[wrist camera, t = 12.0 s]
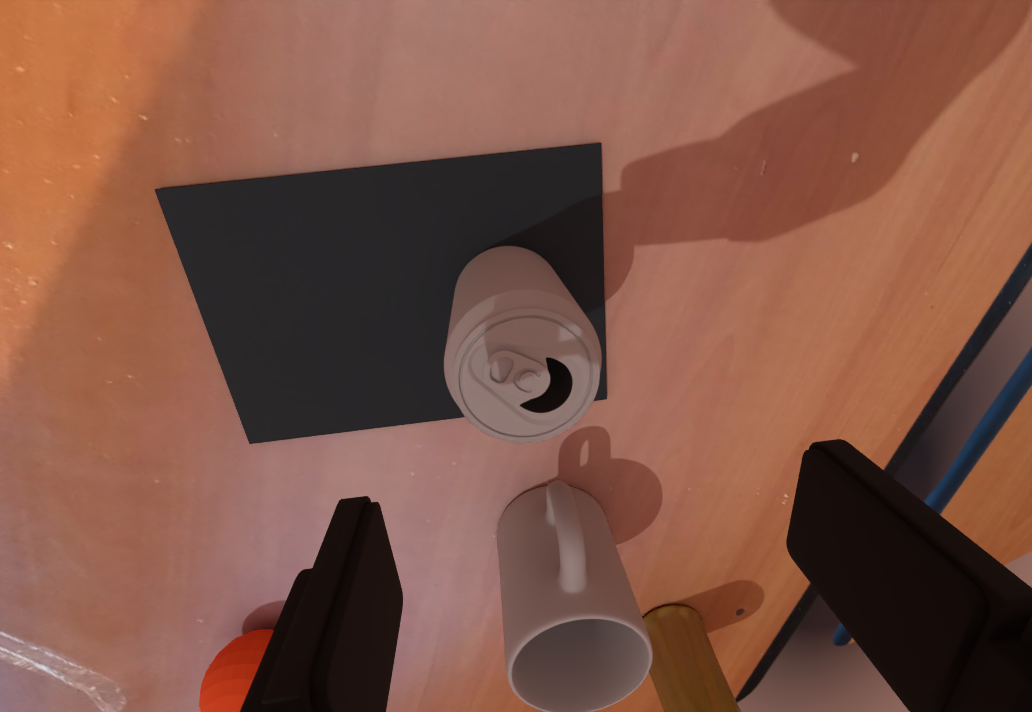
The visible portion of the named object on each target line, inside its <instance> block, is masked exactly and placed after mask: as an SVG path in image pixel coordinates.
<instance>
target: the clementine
mask: <svg viewBox="0 0 1032 712" xmlns="http://www.w3.org/2000/svg"><path fill="white" fill-rule="evenodd" d="M273 631H274V630H273V629H259V630H254V631H250V632H248V633H246V634H244V635H242V636H240V637H238V638H236V639H234V640H233V641H232V642H230V643H229V644H228V645H227V646H226V647H225V648H224V649H223V650H221V651H220V652H219V653H218V654H217V656H216V657H215V659H214V660H213V662H212V663H211V665H210V666H209V668H208V670H207V671H206V674H205V676H204V679H203V682H202V684H201V691H200V702H199V706H200V710H201V712H240V710H241V707H242V705H243V703H244V700H245V698H246V696H247V693H248V691H249V688H250V686H251V684H252V681H253V679H254V676H255V674H256V672H257V669H258V667H259V665H260V662H261V660H262V657H263V655H264V653H265V650H266V648H267V646H268V643H269V641H270V638H271V636H272V634H273Z"/></svg>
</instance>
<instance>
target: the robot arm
mask: <svg viewBox="0 0 1032 712" xmlns="http://www.w3.org/2000/svg"><path fill="white" fill-rule="evenodd" d="M786 544H787V549H788V552H789V554H790V556H791V558H792V559H793V561H794V562H795V563H796V564H797V566H798V567H799V568H800V570H801V571H802V572H803V574H804V575H805V576H806V577H807V579H808V580H809V581H810V583H811V584H812V585H813V587H814V588H815V589H816V590H817V592H818V593H819V594H820V596H821V597H822V598H823V600H824V601H825V602H826V603H827V605H828V606H829V607H830V609H831V610H832V611H833V613H834V614H835V615H836V616H837V618H838V619H839V620H840V622H841V623H842V624H843V626H844V627H845V628H846V629H847V631H848V632H849V633H850V635H851V636H852V637H853V639H854V640H855V641H856V643H857V644H858V645H859V646H860V648H861V649H862V650H863V652H864V653H865V654H866V656H867V657H868V658H869V659H870V661H871V662H872V663H873V665H874V666H875V667H876V668H877V670H878V671H879V672H880V674H881V675H882V676H883V678H884V679H885V680H886V681H887V683H888V684H889V685H890V687H891V688H892V689H893V691H894V692H895V693H896V695H897V696H898V697H899V698H900V700H901V701H902V702H903V704H904V705H905V706H906V707H907V709H908V710H909V711H910V712H1032V588H1031V587H1030V586H1029V585H1027V584H1026V583H1025V582H1024V581H1022V580H1021V579H1020V578H1018V577H1017V576H1016V575H1015V574H1013V573H1012V572H1011V571H1010V570H1008V569H1007V568H1006V567H1005V566H1003V565H1002V564H1001V563H1000V562H998V561H997V560H996V559H994V558H993V557H992V556H991V555H989V554H988V553H987V552H986V551H984V550H983V549H982V548H981V547H979V546H978V545H977V544H976V543H974V542H973V541H972V540H971V539H969V538H968V537H967V536H965V535H964V534H963V533H962V532H960V531H959V530H958V529H957V528H955V527H954V526H953V525H952V524H950V523H949V522H948V521H947V520H945V519H944V518H943V517H942V516H940V515H939V514H938V513H936V512H935V511H934V510H933V509H931V508H930V507H929V506H928V505H926V504H925V503H924V502H923V501H921V500H920V499H919V498H917V497H916V496H915V495H914V494H912V493H911V492H909V490H907V489H906V488H905V487H903V486H902V485H901V484H900V483H898V482H897V481H896V480H895V479H894V478H892V477H891V476H890V475H889V474H887V473H886V472H885V471H883V470H882V469H881V468H880V467H878V466H877V465H876V464H875V463H873V462H872V461H871V460H870V459H868V458H867V457H866V456H865V455H863V454H862V453H861V452H859V451H858V450H857V449H856V448H854V447H853V446H852V445H851V444H849V443H848V442H846V441H845V440H841V439H837V440H829V441H821V442H815V443H812V444H811V445H810V447H809V450H806V451H805V452H804V454H803V457H802V463H801V468H800V473H799V478H798V483H797V488H796V494H795V499H794V504H793V509H792V514H791V519H790V525H789V530H788V535H787V542H786ZM402 607H403V593H402V588H401V584H400V580H399V576H398V572H397V569H396V565H395V561H394V557H393V553H392V550H391V546H390V542H389V538H388V534H387V530H386V527H385V523H384V519H383V515H382V511H381V507H380V505H379V503H378V502H372V503H371V500H370V498H369V497H368V496H364V497H355V498H347V499H341V500H340V501H339V502H338V504H337V507H336V509H335V512H334V514H333V517H332V519H331V522H330V524H329V527H328V530H327V532H326V535H325V537H324V540H323V542H322V545H321V548H320V550H319V553H318V555H317V558H316V560H315V563H314V566H313V568H312V569H304V570H302V571H301V572H300V573H299V574H298V576H297V577H296V579H295V581H294V584H293V586H292V588H291V591H290V593H289V596H288V598H287V600H286V603H285V605H284V607H283V610H282V612H281V615H280V617H279V619H278V622H277V624H276V626H275V629H274V631H273V634H272V636H271V638H270V641H269V643H268V646H267V648H266V650H265V653H264V655H263V657H262V660H261V662H260V665H259V667H258V669H257V672H256V674H255V676H254V679H253V681H252V684H251V686H250V688H249V691H248V693H247V696H246V698H245V700H244V703H243V705H242V707H241V710H240V712H386V708H387V701H388V695H389V689H390V683H391V677H392V670H393V664H394V658H395V652H396V645H397V639H398V633H399V627H400V621H401V614H402Z"/></svg>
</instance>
